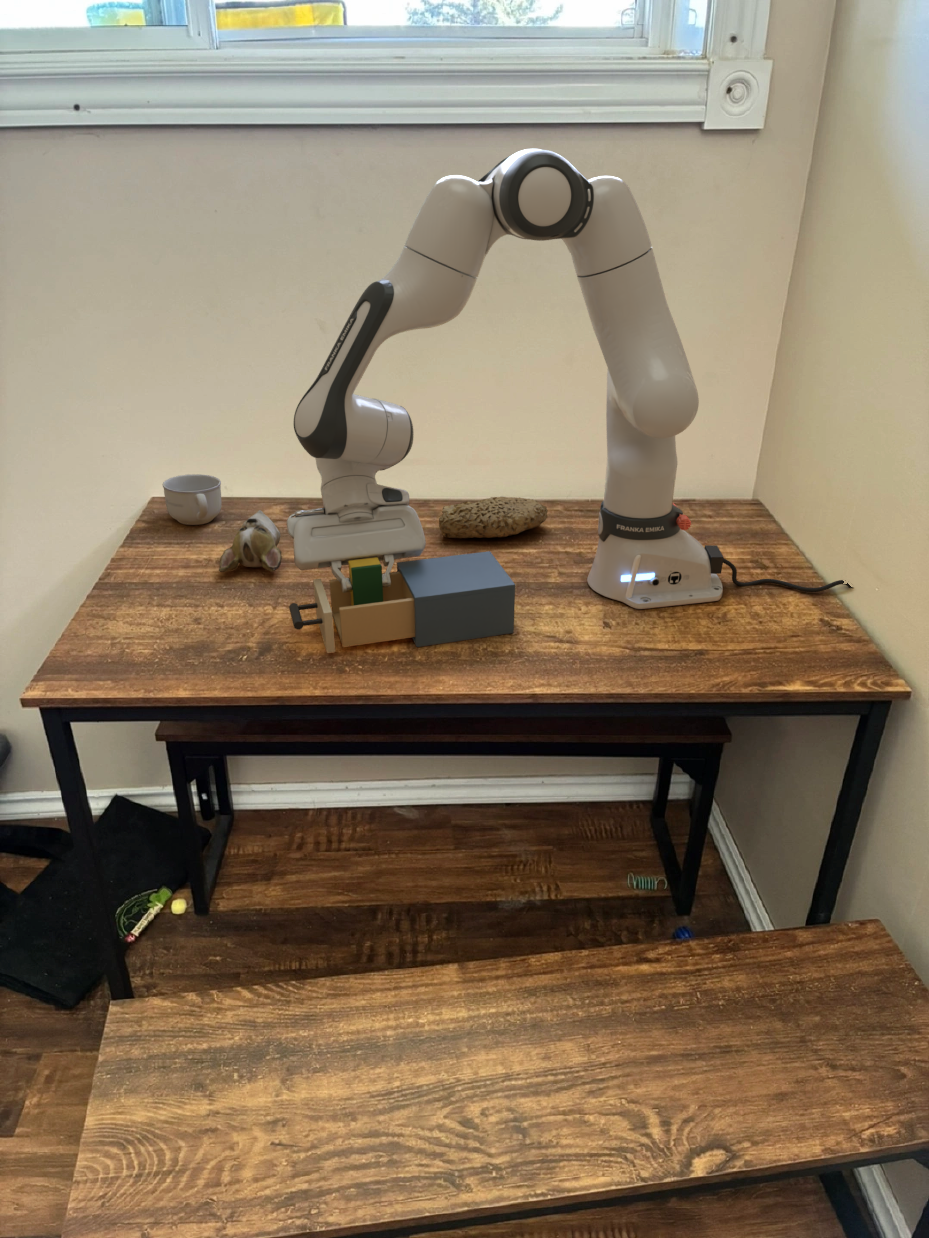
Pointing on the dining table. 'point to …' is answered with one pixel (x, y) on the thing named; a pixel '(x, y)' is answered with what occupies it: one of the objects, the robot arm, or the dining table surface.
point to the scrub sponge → (366, 581)
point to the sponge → (491, 517)
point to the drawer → (360, 615)
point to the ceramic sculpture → (254, 545)
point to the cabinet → (459, 597)
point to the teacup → (193, 498)
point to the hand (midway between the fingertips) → (367, 588)
